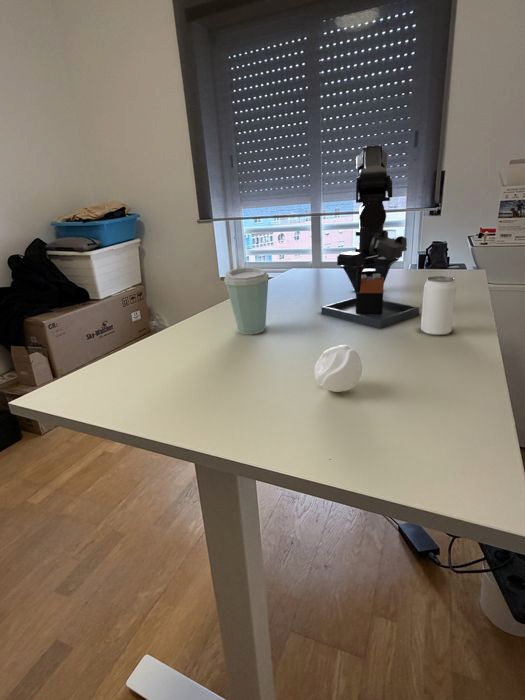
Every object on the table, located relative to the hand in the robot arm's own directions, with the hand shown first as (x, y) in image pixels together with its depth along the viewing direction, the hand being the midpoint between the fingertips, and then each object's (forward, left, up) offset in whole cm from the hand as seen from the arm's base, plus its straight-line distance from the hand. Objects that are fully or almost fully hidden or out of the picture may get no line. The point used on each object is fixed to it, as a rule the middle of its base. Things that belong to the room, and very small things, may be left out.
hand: (369, 289), depth 105 cm
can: (+20, -1, -7) cm, 21 cm away
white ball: (+25, -38, -7) cm, 46 cm away
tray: (0, 0, -7) cm, 7 cm away
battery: (0, 0, -6) cm, 7 cm away
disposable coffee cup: (-12, -30, -7) cm, 33 cm away
